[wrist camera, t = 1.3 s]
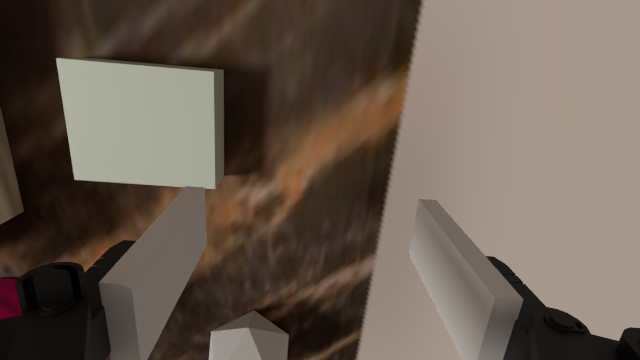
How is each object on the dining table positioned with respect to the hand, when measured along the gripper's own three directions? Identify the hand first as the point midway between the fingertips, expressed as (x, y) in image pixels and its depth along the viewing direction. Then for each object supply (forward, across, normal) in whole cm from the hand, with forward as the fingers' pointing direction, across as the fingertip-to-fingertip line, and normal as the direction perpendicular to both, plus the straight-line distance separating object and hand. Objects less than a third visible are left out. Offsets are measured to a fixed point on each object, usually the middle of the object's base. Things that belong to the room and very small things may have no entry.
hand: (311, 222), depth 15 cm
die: (+20, -5, -24) cm, 31 cm away
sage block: (+20, -14, 0) cm, 24 cm away
